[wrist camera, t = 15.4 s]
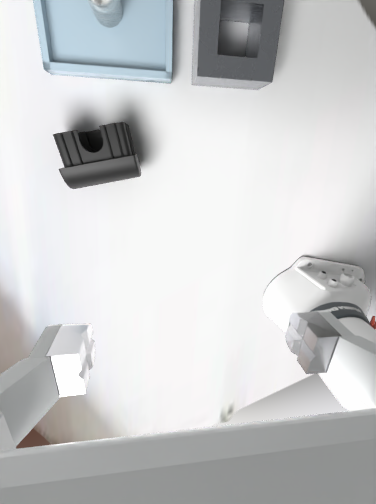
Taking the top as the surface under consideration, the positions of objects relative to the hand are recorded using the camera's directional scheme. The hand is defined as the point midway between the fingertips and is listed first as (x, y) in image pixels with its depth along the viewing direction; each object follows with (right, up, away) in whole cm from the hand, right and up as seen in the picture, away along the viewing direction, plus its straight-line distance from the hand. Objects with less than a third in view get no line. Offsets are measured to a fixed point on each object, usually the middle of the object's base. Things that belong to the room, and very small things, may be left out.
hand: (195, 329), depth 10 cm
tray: (-10, +34, +21) cm, 41 cm away
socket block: (+5, +32, +24) cm, 41 cm away
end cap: (-13, +18, +28) cm, 36 cm away
